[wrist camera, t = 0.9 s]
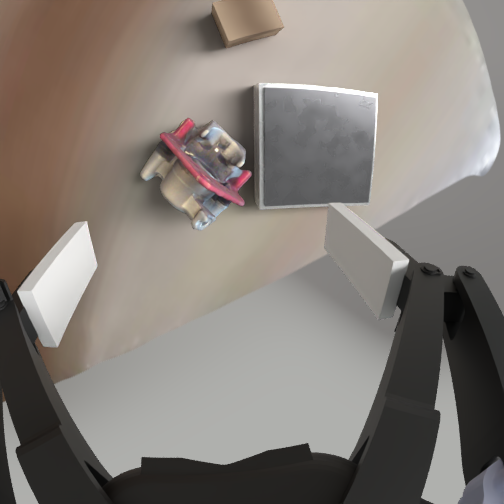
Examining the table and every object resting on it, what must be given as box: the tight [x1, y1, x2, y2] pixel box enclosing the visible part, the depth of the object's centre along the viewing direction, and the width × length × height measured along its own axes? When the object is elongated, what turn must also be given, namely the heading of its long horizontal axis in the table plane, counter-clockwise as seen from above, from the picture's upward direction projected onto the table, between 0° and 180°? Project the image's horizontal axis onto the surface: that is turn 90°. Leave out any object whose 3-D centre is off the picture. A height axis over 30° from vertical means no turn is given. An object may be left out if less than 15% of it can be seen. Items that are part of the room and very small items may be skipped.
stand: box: [253, 83, 378, 210], centre depth 32 cm, size 14×14×4 cm
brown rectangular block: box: [212, 0, 284, 48], centre depth 25 cm, size 6×5×4 cm
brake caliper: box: [140, 118, 252, 230], centre depth 30 cm, size 11×11×12 cm
